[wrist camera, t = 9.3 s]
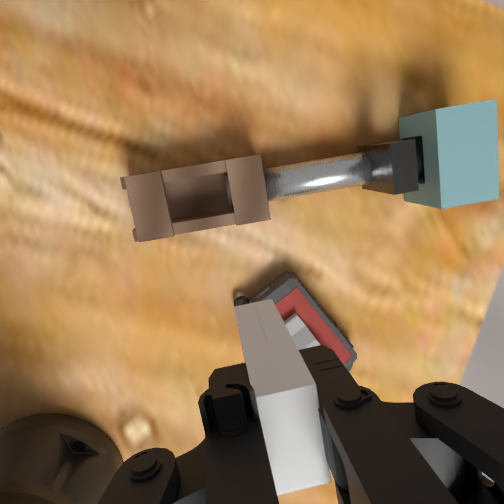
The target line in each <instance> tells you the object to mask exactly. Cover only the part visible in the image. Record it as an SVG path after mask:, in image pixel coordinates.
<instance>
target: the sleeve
mask: <svg viewBox="0 0 504 504" xmlns="http://www.w3.org/2000/svg"><path fill="white" fill-rule="evenodd" d="M224 175H228V179H229V185H230V191H231V197H232V202H233V208H230V206H229V200H228V195H227V189H226V183H225V177H224ZM120 179H121V183H122V188H123V189H127V193H128V197H129V201H130V206H131V210H132V214H133V219H134V223H135V227H136V228H135V229H134V230H132V231H133V235H134V240H135V242H136V241H139V242H144V241H150V240H156V239H161V238H167V237H173V236H174V235H176V234H182V233H188V232H193V231H199V230H205V229H211V228H216V227H222V226H228V225H234V224H236V225H242V224H248V223H253V222H259V221H265V220H271V218H270V212H269V205H268V199H267V192H266V186H265V179H264V173H263V166H262V160H261V154H258V155H252V156H246V157H240V158H234V159H228V160H222V161H216V162H210V163H204V164H198V165H192V166H186V167H180V168H175V169H169V170H163V171H157V172H151V173H145V174H139V175H133V176H127V177H121V178H120Z"/></svg>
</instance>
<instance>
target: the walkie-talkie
mask: <svg viewBox="0 0 504 504" xmlns="http://www.w3.org/2000/svg"><path fill="white" fill-rule="evenodd" d="M268 299H272V300H273V302H274V304H275V306H276V308H277V310H278V312H279V314H280V316H281V318H282V319H283V321H284V323H285V325H286V327H287V329H288V331H289V333H290V335H291V337H292V339H293V341H294V343H295V345H296V347H297V348H298V350H300V349H305V348H309V347H314V346H319V345H324V346H326V347H328V348H330V349H332V350H334V352H335V353H336V355H337V356H338V357H339V360H341V362H342V363H343V365H344V366H345V367H346V369H347V370H348V372H349V371H350V370H351V368H352V365H353V362H354V361H355V360H356V359H357V354H356V352H355V351H354V349H353V345H352V344H351V343H350V341H349V340H348V339H347V337H344V336H343V335H342V331H341V330H340V329H339V327H338V326H337V325H336V323H334V324H333V322H332V321H331V320H330V319H329V317H328V316H327V315H326V314H325V312H324V311H323V310H322V308H320V306H319V305H318V304H317V302H316V301H315V300H314V299H313V297H312V296H311V295H310V293H309V292H308V291H307V289H306V288H305V287H304V286H303V284H302V283H301V282H300V281H299V280H298V278H297V277H296V276H295V274H294V273H289V272H284V273H283V274H282V275H280V276H279V277H278V278H276V279H275V280H274V281H273V282H271V283H270V284H269V285H267V286H266V287H265V288H263V289H262V290H261V291H260V292H258V293H257V294H256V295H254V296H253V297H252V298H250V299H248V298H246V297H244V296H240V297H238V298H236V299H235V301H234V307H235V306H238V303H239V302H241V301H244V302H245V304H249V303H254V302H259V301H264V300H268Z"/></svg>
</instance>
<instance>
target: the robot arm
mask: <svg viewBox="0 0 504 504" xmlns="http://www.w3.org/2000/svg"><path fill="white" fill-rule="evenodd" d="M234 309H235V314H236V319H237V324H238V329H239V334H240V339H241V344H242V350H243V355H244V360H245V363H241V364H237V365H232V366H228V367H223V368H218V369H215V370H214V371H213V373H212V374H211V376H210V377H209V389H207V390H206V391H205V392H204V393H203V394H202V395H201V396H200V399H199V401H198V404H199V409H200V413H201V417H202V422H203V426H204V431H205V439H204V440H203V441H202V442H201V443H200V444H199V445H198V446H197V447H195V448H194V449H192V450H191V451H189V452H187V453H185V454H183V455H181V456H179V457H177V458H175V456H174V454H173V452H171V451H169V450H168V449H166V448H152V449H147V450H143V451H141V452H139V453H137V454H135V455H133V456H131V457H130V458H129V459H127V460H126V461H125V462H124V463H123V461H122V458H121V455H120V453H119V451H118V450H117V448H116V446H115V445H114V444H113V442H112V441H111V440H110V439H109V438H108V437H107V436H106V435H105V434H104V433H103V432H102V431H100V430H99V429H98V428H96V427H95V426H93V425H91V424H89V423H87V422H85V421H83V420H80V419H78V418H74V417H71V416H66V415H60V414H40V415H33V416H29V417H25V418H22V419H19V420H17V421H15V422H13V423H11V424H9V425H7V426H6V427H4V428H3V429H2V430H0V504H279V501H278V497H277V495H281V494H285V493H289V492H293V491H297V490H301V489H306V488H310V487H314V486H318V485H322V484H326V483H330V482H331V476H330V470H331V472H332V475H333V477H334V479H335V486H336V492H337V498H338V504H504V408H502V407H500V406H498V405H496V404H494V403H493V402H491V401H489V400H487V399H485V398H484V397H481V396H480V395H478V394H476V393H475V392H473V391H471V390H469V389H467V388H465V387H462V386H460V385H457V384H453V383H447V382H432V383H428V384H424V385H422V386H420V387H419V388H417V389H416V390H415V392H414V394H413V401H414V402H412V403H391V402H383V401H381V400H380V399H379V398H378V396H377V395H376V394H375V393H374V392H373V391H371V390H370V389H368V388H365V387H362V386H358V384H357V383H356V381H355V380H354V379H353V377H352V376H351V374H350V373H349V372H348V370H347V369H346V367H345V366H344V365H343V363H342V362H341V360H339V357H338V356H337V355H336V353H335V352H334V350H332V349H330V348H328V347H326V346H324V345H319V346H314V347H309V348H305V349H300V350H298V348H297V347H296V345H295V343H294V341H293V339H292V337H291V335H290V333H289V331H288V329H287V327H286V325H285V323H284V321H283V319H282V318H281V316H280V314H279V312H278V310H277V308H276V306H275V304H274V302H273V300H272V299H268V300H264V301H259V302H254V303H249V304H244V305H239V306H235V307H234ZM329 468H330V470H329ZM482 472H483V473H484V474H486V475H487V476H488V477H490V478H491V479H492V480H493V481H494V482H492V481H490V480H489V479H487V478H486V477H485V476H483V475H482Z"/></svg>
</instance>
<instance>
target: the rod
mask: <svg viewBox="0 0 504 504" xmlns="http://www.w3.org/2000/svg"><path fill="white" fill-rule="evenodd" d="M358 149H359V153H353V154H347V155H341V156H335V157H329V158H323V159H317V160H311V161H305V162H299V163H293V164H288V165H282V166H276V167H270V168H264V169H263V173H264V179H265V186H266V192H267V199H268V201H274V200H279V199H285V198H291V197H297V196H303V195H308V194H314V193H320V192H326V191H332V190H338V189H343V188H349V187H355V186H361V185H362V189H367V190H373V191H378V192H383V193H388V194H393V195H396V194H401V193H407V192H413V191H419V186H418V176H419V175H425V170H424V155H423V142H418V143H415V139H411V140H402V141H393V142H384V143H377V144H371V145H365V146H359V147H358ZM224 177H225V183H226V189H227V195H228V200H229V206H230V208H233V202H232V197H231V191H230V185H229V179H228V175H224Z"/></svg>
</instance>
